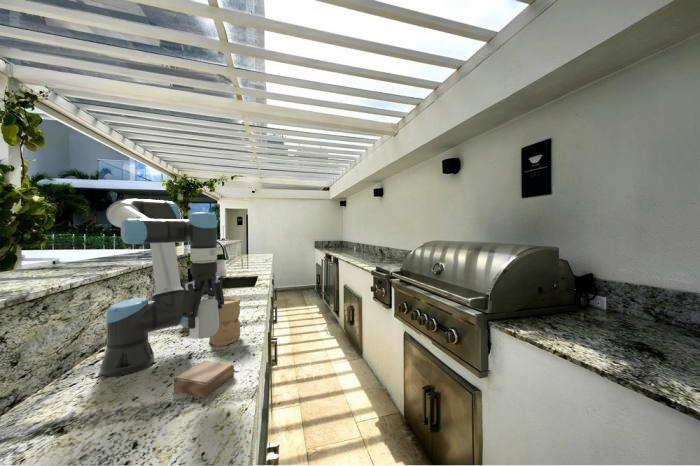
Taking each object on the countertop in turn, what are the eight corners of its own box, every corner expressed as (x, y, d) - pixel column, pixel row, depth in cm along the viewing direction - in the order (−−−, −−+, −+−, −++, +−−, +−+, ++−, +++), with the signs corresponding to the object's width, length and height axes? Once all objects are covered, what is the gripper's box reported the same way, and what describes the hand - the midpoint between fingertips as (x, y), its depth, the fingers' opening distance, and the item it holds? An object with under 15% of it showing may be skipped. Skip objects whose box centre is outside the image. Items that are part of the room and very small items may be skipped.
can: (206, 340, 82) (206, 301, 82) (185, 338, 84) (185, 299, 84) (223, 331, 90) (222, 295, 90) (203, 329, 91) (202, 294, 91)
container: (225, 348, 113) (225, 305, 113) (202, 344, 117) (201, 302, 117) (246, 337, 125) (246, 297, 125) (224, 333, 129) (224, 295, 129)
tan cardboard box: (173, 391, 83) (173, 377, 83) (204, 371, 94) (204, 359, 94) (206, 398, 80) (205, 383, 80) (234, 376, 91) (233, 364, 91)
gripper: (186, 265, 76) (187, 347, 76) (235, 258, 95) (236, 323, 96) (165, 265, 78) (166, 344, 78) (217, 257, 97) (218, 321, 98)
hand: (204, 332), depth 87 cm, fingers closed on can, 7 cm apart
